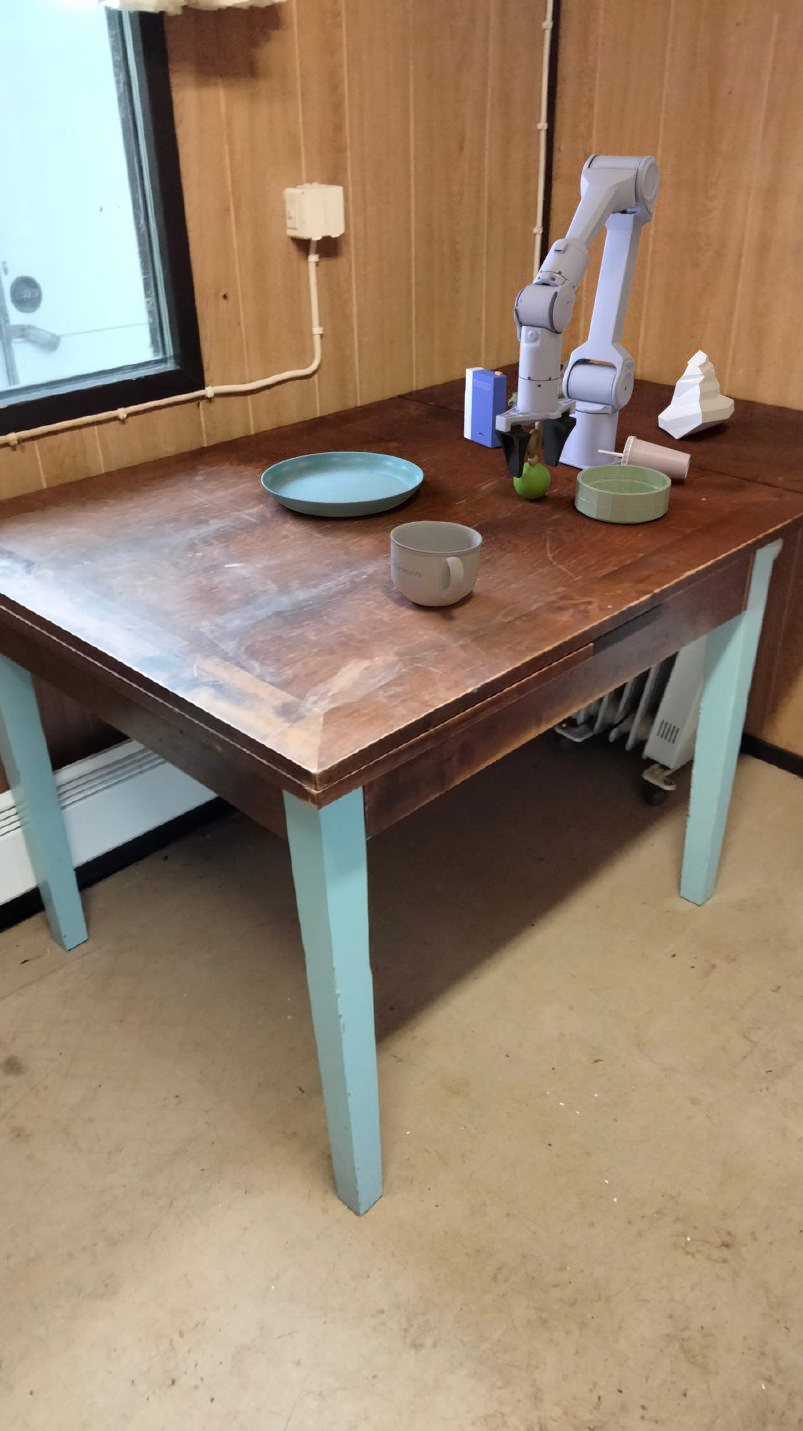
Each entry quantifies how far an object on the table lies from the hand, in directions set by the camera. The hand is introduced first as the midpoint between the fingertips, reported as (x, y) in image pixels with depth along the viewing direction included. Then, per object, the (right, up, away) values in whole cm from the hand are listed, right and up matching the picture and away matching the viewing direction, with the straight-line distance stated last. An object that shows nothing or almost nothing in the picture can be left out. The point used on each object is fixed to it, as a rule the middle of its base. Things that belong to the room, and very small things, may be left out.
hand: (533, 470), depth 152 cm
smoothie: (+24, +2, +5) cm, 25 cm away
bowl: (+12, -6, -2) cm, 14 cm away
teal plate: (-28, -3, +3) cm, 29 cm away
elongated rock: (+13, +27, +51) cm, 59 cm away
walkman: (-5, +11, +26) cm, 29 cm away
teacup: (-15, -23, -29) cm, 40 cm away
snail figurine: (0, -4, +2) cm, 4 cm away
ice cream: (+32, +14, +31) cm, 47 cm away
